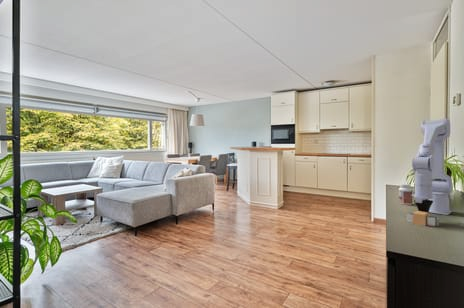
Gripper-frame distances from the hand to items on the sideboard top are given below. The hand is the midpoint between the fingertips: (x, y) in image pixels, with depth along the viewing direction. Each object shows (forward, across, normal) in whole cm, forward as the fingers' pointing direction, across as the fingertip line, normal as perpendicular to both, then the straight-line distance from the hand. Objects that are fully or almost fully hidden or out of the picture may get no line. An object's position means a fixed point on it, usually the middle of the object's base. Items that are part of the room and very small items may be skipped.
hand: (423, 217), depth 101 cm
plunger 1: (+2, +4, -3) cm, 5 cm away
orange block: (+2, +5, 0) cm, 5 cm away
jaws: (+2, +3, 0) cm, 3 cm away
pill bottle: (+2, -32, -16) cm, 36 cm away
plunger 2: (+2, +4, +3) cm, 5 cm away
